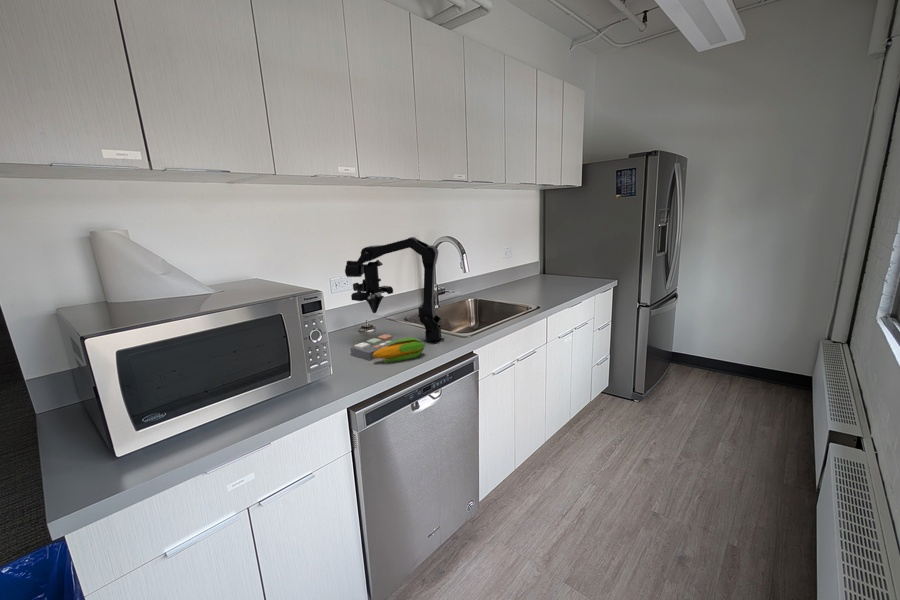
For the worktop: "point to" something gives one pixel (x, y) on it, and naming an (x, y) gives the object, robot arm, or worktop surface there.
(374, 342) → the key sage
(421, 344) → the corn
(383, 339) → the key terracotta
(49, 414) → the worktop surface
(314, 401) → the worktop surface
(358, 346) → the key offwhite
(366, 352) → the keypad
